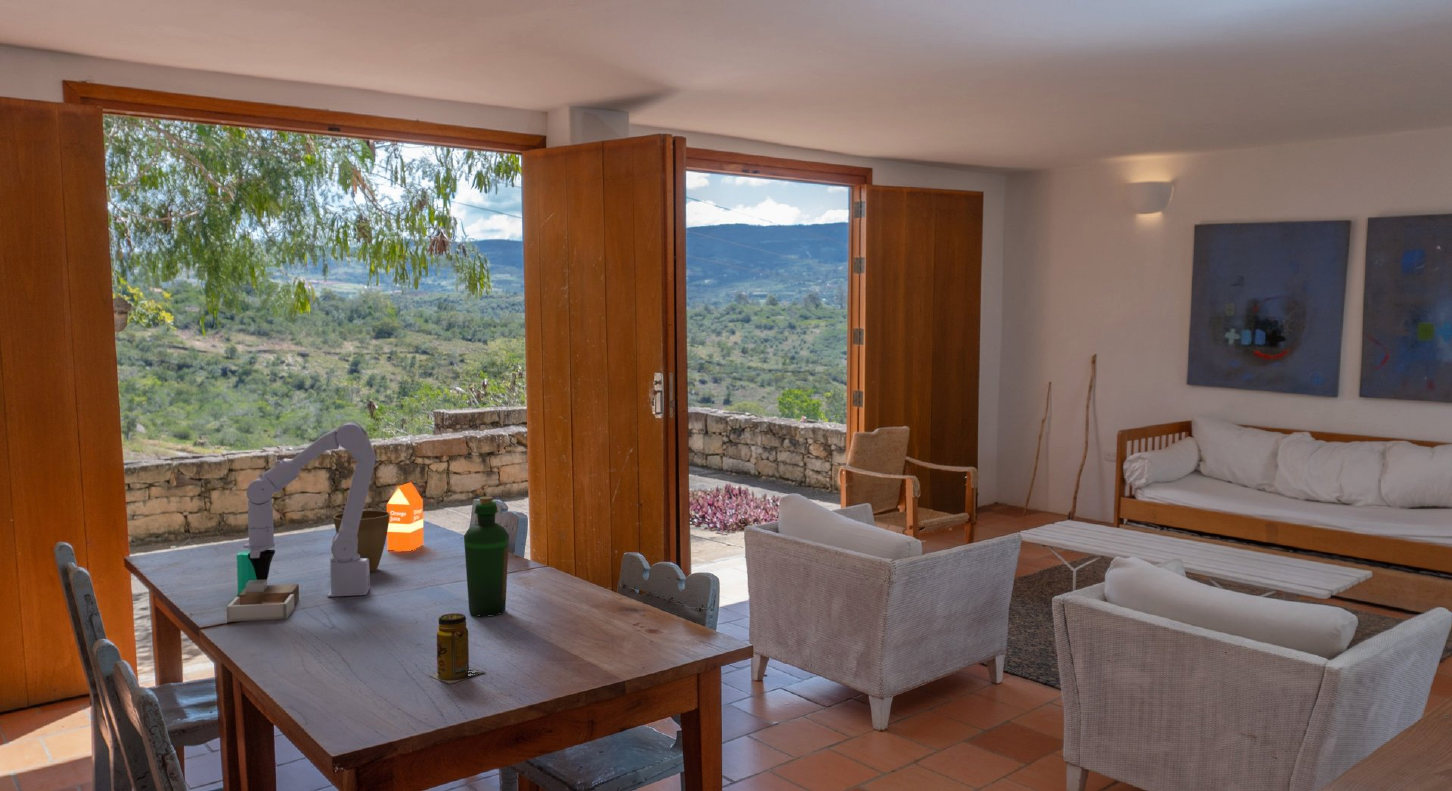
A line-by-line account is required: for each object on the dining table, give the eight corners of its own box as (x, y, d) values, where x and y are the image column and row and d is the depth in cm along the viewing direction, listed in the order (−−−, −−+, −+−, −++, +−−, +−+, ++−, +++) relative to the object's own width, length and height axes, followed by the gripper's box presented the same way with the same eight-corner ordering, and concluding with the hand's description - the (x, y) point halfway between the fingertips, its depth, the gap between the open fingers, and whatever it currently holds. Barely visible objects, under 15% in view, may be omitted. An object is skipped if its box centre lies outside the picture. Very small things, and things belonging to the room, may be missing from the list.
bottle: (518, 609, 245) (517, 495, 243) (491, 621, 235) (489, 502, 233) (483, 604, 249) (482, 492, 247) (455, 615, 240) (453, 499, 238)
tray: (294, 608, 244) (294, 594, 244) (286, 618, 236) (286, 603, 236) (236, 611, 242) (236, 596, 241) (227, 621, 233) (226, 606, 233)
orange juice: (386, 550, 307) (385, 486, 306) (400, 544, 316) (399, 481, 314) (410, 551, 306) (409, 487, 304) (424, 545, 314) (423, 482, 313)
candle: (253, 596, 255) (251, 549, 254) (232, 594, 256) (231, 548, 256) (268, 590, 261) (267, 544, 260) (248, 588, 262) (246, 543, 261)
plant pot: (402, 568, 285) (401, 513, 284) (357, 579, 272) (356, 521, 271) (367, 561, 293) (366, 507, 292) (323, 572, 280) (322, 515, 279)
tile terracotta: (280, 601, 237) (279, 609, 236) (283, 602, 241) (283, 611, 240) (262, 602, 236) (261, 610, 235) (266, 603, 240) (265, 612, 239)
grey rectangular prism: (267, 587, 249) (267, 579, 248) (263, 591, 245) (263, 583, 245) (249, 588, 248) (249, 580, 248) (245, 592, 244) (245, 584, 244)
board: (299, 599, 252) (298, 583, 252) (292, 608, 245) (292, 592, 244) (247, 602, 250) (247, 586, 249) (239, 611, 242) (238, 594, 242)
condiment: (428, 676, 198) (427, 616, 198) (464, 665, 205) (463, 607, 204) (449, 684, 194) (449, 623, 193) (486, 673, 200) (485, 614, 199)
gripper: (250, 521, 257) (252, 573, 258) (236, 533, 243) (237, 588, 244) (280, 520, 259) (281, 572, 260) (267, 532, 245) (268, 586, 246)
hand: (262, 580), depth 252 cm, fingers closed
